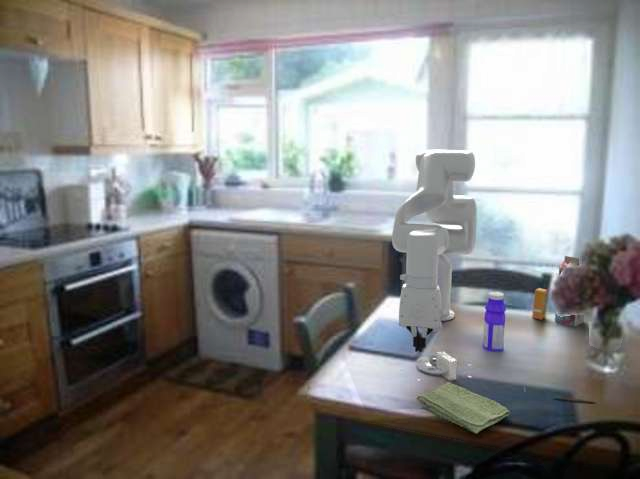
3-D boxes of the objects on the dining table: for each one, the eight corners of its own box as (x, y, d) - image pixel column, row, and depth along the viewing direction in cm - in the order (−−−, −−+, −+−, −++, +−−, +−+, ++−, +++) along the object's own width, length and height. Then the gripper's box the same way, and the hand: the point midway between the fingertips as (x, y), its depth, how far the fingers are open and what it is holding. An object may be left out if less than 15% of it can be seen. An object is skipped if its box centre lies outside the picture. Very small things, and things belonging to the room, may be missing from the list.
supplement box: (542, 320, 180) (544, 291, 178) (531, 317, 182) (534, 289, 180) (545, 317, 183) (548, 289, 181) (535, 315, 185) (537, 287, 183)
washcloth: (478, 439, 111) (478, 425, 110) (412, 406, 124) (413, 394, 124) (512, 418, 119) (513, 404, 119) (447, 389, 133) (448, 377, 132)
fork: (597, 407, 124) (598, 399, 123) (523, 398, 128) (524, 391, 127) (594, 402, 126) (595, 394, 126) (522, 393, 130) (523, 386, 130)
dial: (409, 362, 144) (410, 344, 143) (441, 357, 147) (442, 339, 146) (435, 382, 132) (435, 363, 131) (469, 376, 135) (470, 358, 134)
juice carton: (574, 326, 174) (581, 260, 170) (554, 321, 179) (560, 257, 175) (583, 322, 178) (590, 257, 174) (563, 317, 183) (569, 254, 179)
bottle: (504, 357, 151) (508, 297, 147) (483, 355, 152) (487, 296, 148) (501, 347, 158) (505, 290, 154) (481, 345, 159) (484, 289, 155)
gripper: (388, 282, 131) (387, 352, 135) (450, 288, 126) (447, 360, 130) (394, 273, 138) (393, 340, 142) (454, 279, 133) (451, 347, 137)
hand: (419, 349), depth 136 cm, fingers closed
